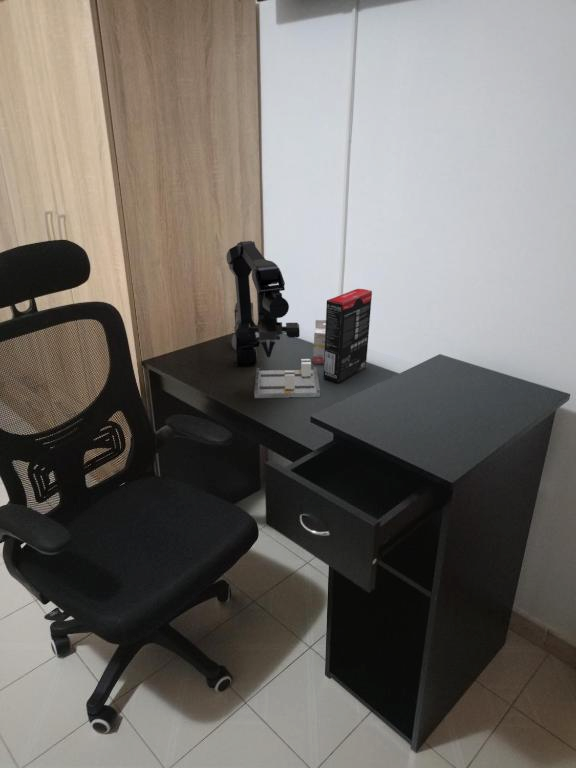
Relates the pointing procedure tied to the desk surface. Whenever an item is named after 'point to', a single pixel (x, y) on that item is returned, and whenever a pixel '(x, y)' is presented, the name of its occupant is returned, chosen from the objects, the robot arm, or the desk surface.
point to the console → (274, 384)
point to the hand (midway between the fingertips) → (268, 356)
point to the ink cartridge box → (319, 342)
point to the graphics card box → (346, 334)
